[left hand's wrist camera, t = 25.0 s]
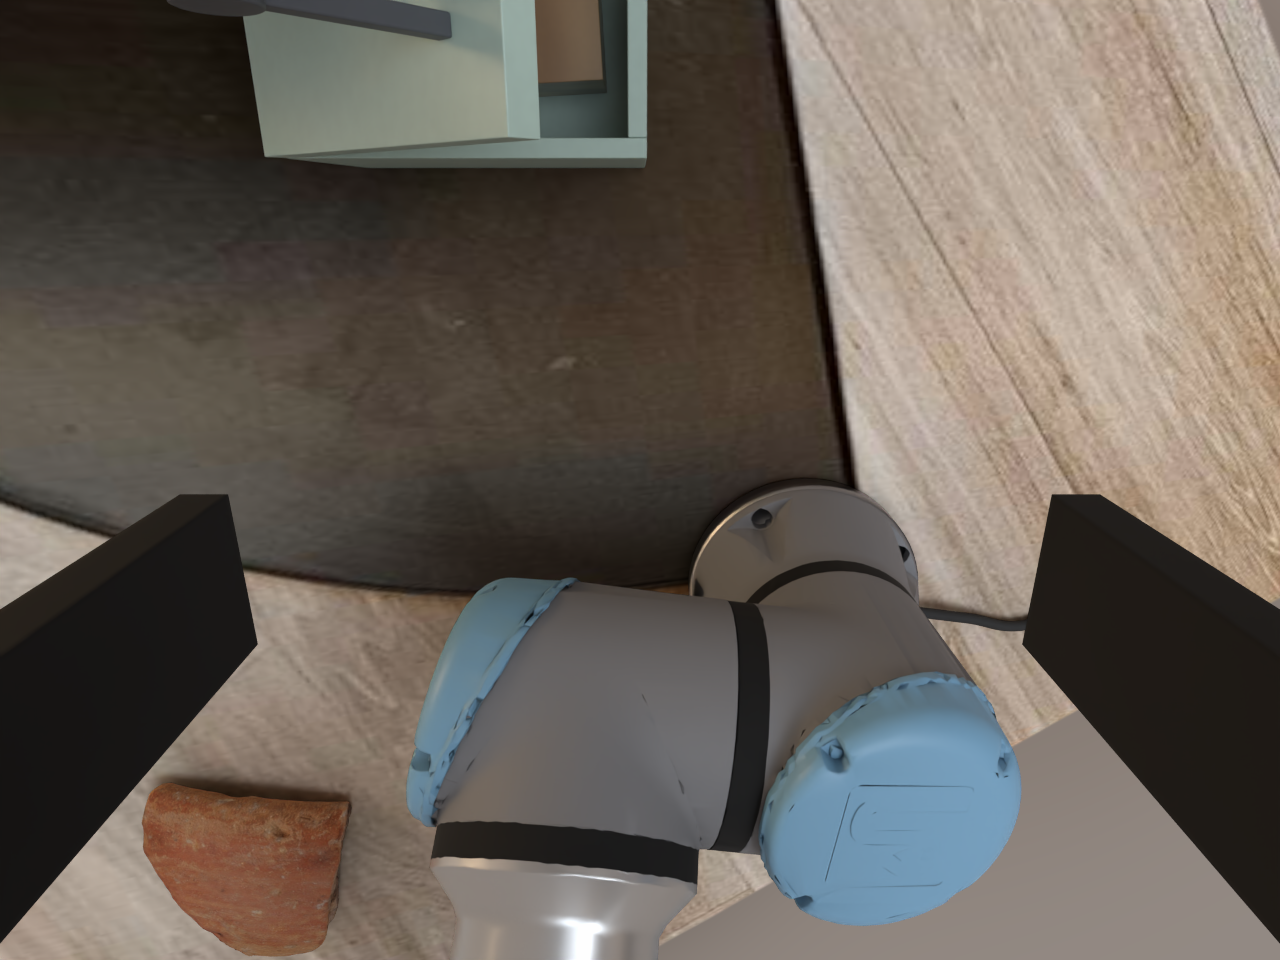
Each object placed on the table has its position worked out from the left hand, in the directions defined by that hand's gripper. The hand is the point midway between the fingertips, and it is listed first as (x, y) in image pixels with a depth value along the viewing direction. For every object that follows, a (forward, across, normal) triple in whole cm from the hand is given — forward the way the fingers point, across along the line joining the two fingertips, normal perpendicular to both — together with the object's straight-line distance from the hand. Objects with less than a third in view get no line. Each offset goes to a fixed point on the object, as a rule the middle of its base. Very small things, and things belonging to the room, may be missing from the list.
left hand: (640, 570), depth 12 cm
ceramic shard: (+36, +30, +44) cm, 65 cm away
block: (+36, +4, -14) cm, 38 cm away
